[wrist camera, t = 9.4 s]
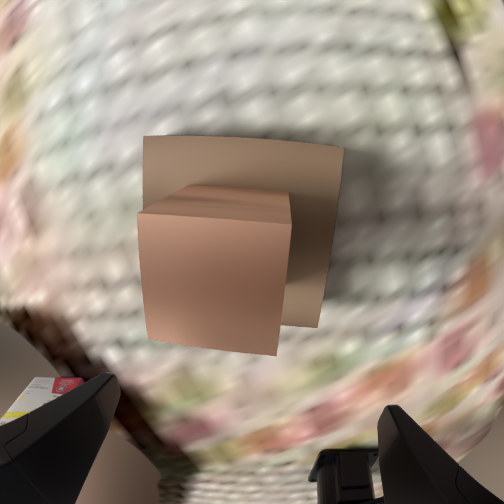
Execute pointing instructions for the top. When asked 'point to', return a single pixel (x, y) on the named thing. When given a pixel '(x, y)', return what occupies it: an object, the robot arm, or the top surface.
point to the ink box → (39, 395)
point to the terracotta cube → (215, 267)
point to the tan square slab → (262, 178)
